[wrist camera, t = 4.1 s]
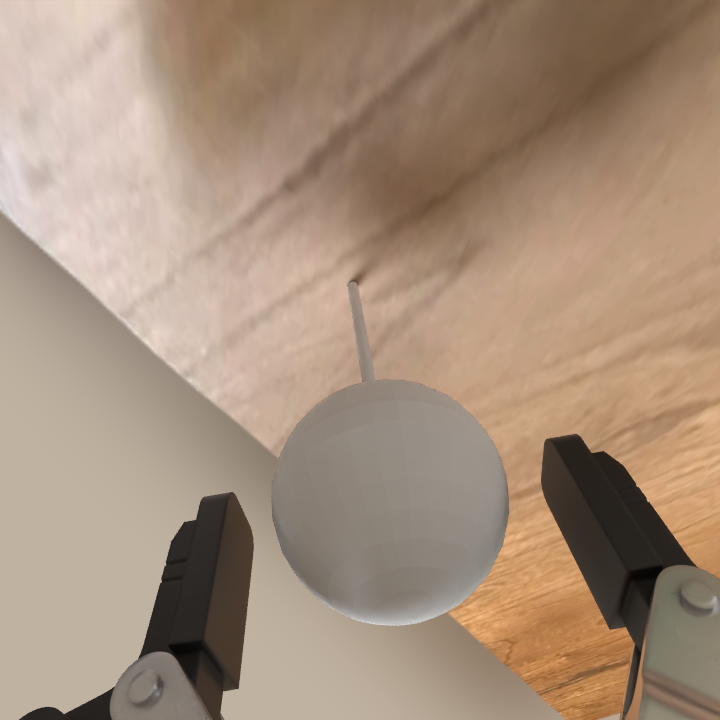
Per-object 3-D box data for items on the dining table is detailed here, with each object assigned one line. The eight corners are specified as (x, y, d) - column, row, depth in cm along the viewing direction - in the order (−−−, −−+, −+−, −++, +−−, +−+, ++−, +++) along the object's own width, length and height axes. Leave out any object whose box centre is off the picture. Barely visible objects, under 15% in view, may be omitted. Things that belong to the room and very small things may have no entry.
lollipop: (271, 234, 20) (218, 546, 8) (408, 207, 20) (561, 483, 8) (305, 352, 24) (303, 694, 12) (421, 330, 24) (542, 652, 12)
